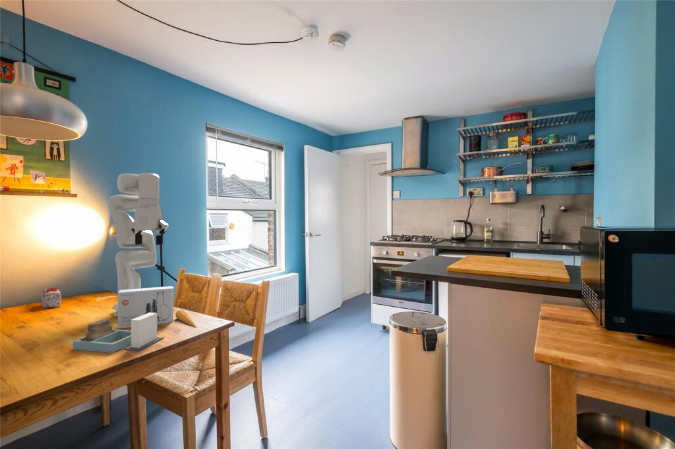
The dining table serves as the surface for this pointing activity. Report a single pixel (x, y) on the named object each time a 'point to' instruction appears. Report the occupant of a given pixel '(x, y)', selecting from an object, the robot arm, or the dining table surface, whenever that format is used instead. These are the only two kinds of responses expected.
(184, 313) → the carrot
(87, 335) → the offcut middle
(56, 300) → the food item
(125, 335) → the tray
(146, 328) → the white upright slab
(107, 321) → the offcut top
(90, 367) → the dining table surface
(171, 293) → the skincare box
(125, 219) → the robot arm
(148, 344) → the mat
